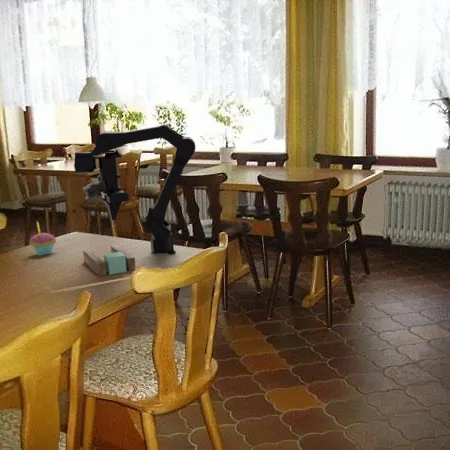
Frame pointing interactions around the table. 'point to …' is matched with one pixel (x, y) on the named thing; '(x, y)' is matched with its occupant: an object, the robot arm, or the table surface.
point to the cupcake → (42, 242)
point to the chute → (99, 264)
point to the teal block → (115, 262)
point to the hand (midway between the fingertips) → (113, 219)
